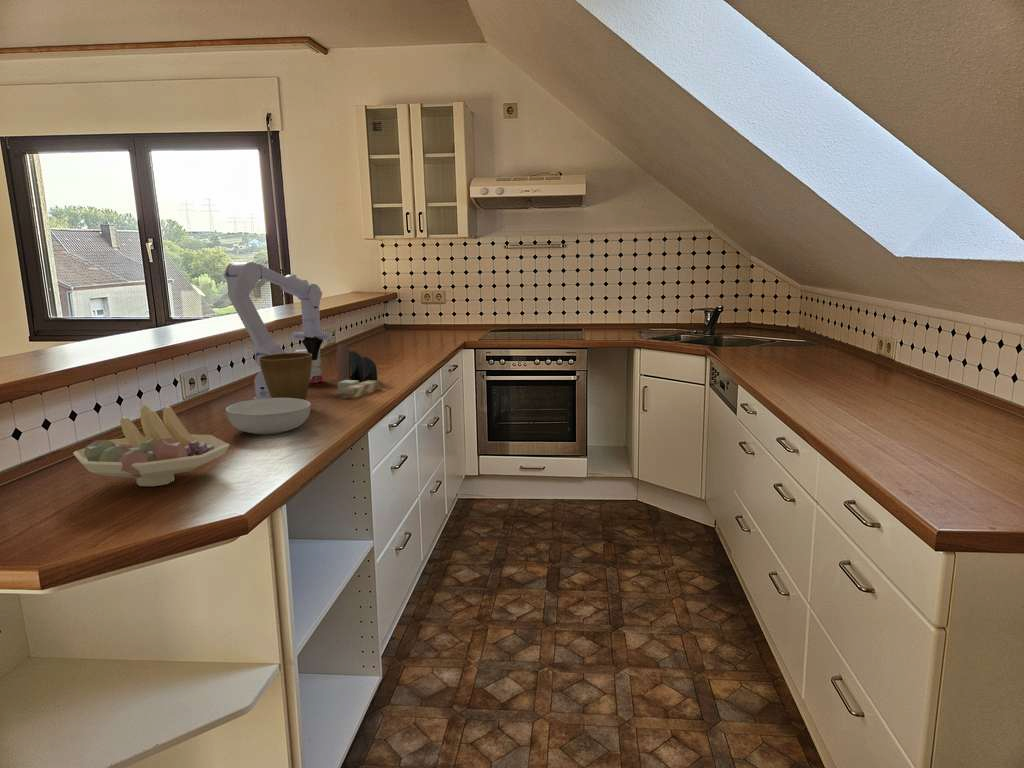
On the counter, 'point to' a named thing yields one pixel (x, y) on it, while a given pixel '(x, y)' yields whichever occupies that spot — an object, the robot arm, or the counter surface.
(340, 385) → the block
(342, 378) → the letter holder
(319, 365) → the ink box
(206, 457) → the dish with food
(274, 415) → the serving bowl
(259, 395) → the robot arm
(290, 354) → the plant pot
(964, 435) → the counter surface
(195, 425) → the counter surface
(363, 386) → the board
